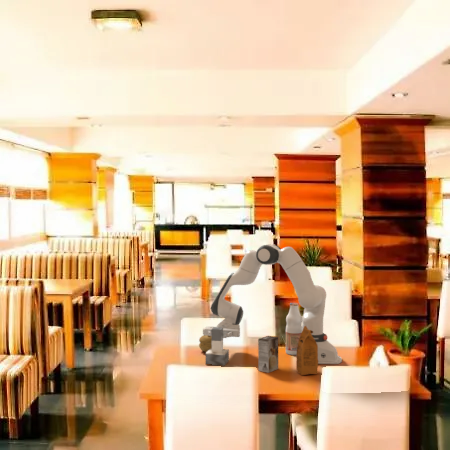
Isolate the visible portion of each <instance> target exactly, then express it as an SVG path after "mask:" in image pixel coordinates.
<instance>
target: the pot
mask: <svg viewBox="0 0 450 450" xmlns="http://www.w3.org/2000/svg"><path fill="white" fill-rule="evenodd" d="M198 340H199V341H198V342H199V344H198V346H199V349H200V350H201V351H202V352H204V353H206V352H207V351H208V350H209V349H210V348H211V349H212V336H209V335H203V334H202V335H201V336H200V337H199V339H198Z"/></svg>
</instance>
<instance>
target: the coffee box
mask: <svg viewBox="0 0 450 450" xmlns="http://www.w3.org/2000/svg"><path fill="white" fill-rule="evenodd" d="M257 341H258V342H257V344H258V346H257V347H258V350H257V351H258V356H257V357H258V371H259V372H264V373H268V374H270V373H271V372H274V371H277V370H278V369H279V337H278V336H274V335H273V336H271V335H266V336H264V337H260V338H258V340H257Z"/></svg>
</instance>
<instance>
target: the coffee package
mask: <svg viewBox="0 0 450 450" xmlns="http://www.w3.org/2000/svg"><path fill="white" fill-rule="evenodd" d="M311 333H313V331H312V330H308V328H307V327H306V326H304V328H303V331H302V333H301V336H300V338H299V341H298V347H297V354H296V355H295V356H296V363H295V365H296V366H295V367H296V372H297V373H298V374H299V375H301V376H307V375H315V374H318V371H319V369H318V367H319V364H318V345H317V343H316V341H315V340H314V338H313V336H312V334H311Z"/></svg>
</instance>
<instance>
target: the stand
mask: <svg viewBox="0 0 450 450" xmlns="http://www.w3.org/2000/svg"><path fill="white" fill-rule="evenodd" d="M229 353H230V350H229V349H227V348H226V349H225V348H223V351H222V352H221V353H218V352H212V349H211V348H210V349H209V350H208V351H207V352H205V365H206V364H212V365H211V366H219V365H222V366H221V367H225V366H226V364H228V363H229V361H230V360H229V357H230V356H229V355H230V354H229Z"/></svg>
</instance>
